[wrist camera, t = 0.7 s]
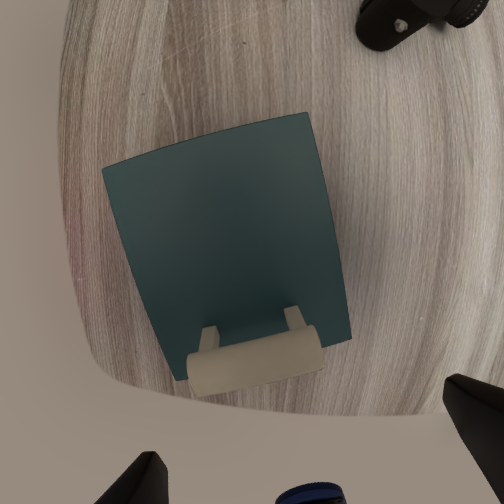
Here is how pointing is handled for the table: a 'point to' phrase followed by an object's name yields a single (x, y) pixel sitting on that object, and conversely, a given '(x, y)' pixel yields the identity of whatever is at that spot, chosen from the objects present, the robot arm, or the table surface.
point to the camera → (410, 18)
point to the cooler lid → (234, 253)
